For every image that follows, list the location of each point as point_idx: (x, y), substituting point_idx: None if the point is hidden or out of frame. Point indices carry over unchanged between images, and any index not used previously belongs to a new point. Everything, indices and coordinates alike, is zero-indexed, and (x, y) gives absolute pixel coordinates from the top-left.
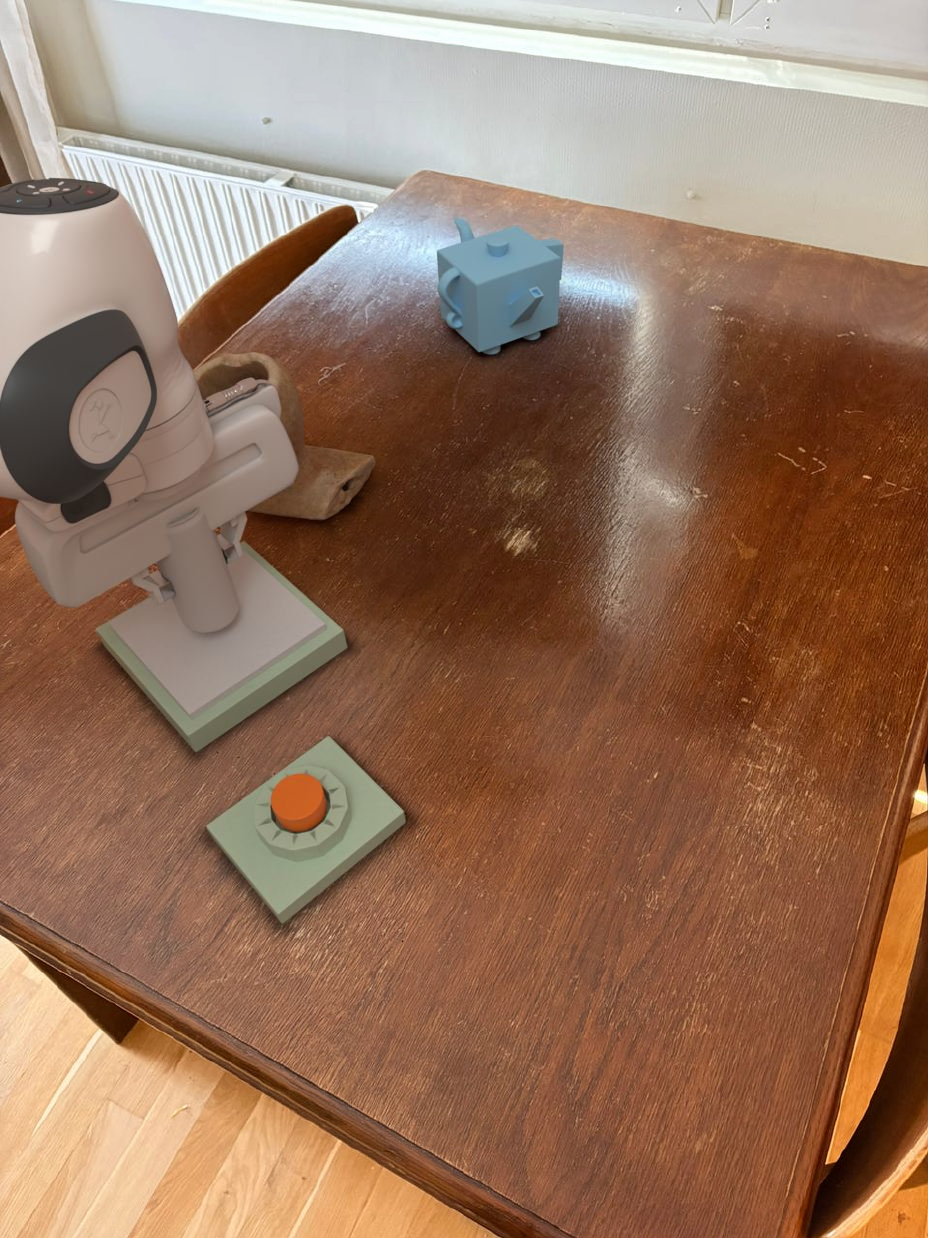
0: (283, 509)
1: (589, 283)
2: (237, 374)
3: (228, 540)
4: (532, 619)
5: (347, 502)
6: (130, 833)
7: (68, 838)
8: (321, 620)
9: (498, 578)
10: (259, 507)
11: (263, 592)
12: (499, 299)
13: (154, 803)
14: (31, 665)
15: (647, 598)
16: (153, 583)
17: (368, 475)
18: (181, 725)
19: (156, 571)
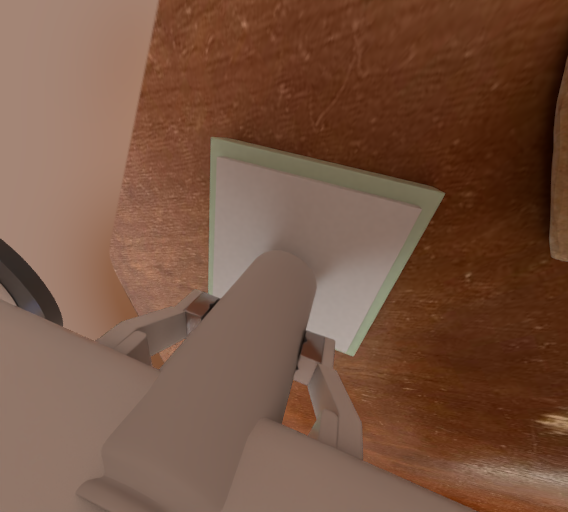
0: (564, 194)
1: None
2: None
3: (310, 381)
4: (446, 432)
5: None
6: (167, 285)
7: (140, 257)
8: (347, 349)
9: (492, 412)
10: (562, 147)
11: (352, 288)
12: None
13: (185, 286)
14: (164, 83)
15: (500, 484)
16: (170, 345)
17: None
18: (209, 293)
19: (197, 317)
